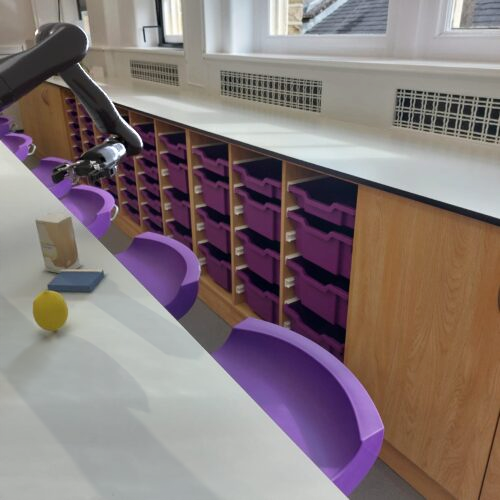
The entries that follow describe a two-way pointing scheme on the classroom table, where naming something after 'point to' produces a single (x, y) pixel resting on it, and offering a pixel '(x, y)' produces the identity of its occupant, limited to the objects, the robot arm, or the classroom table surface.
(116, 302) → the classroom table surface
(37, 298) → the lemon
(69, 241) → the cosmetic box
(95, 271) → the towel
